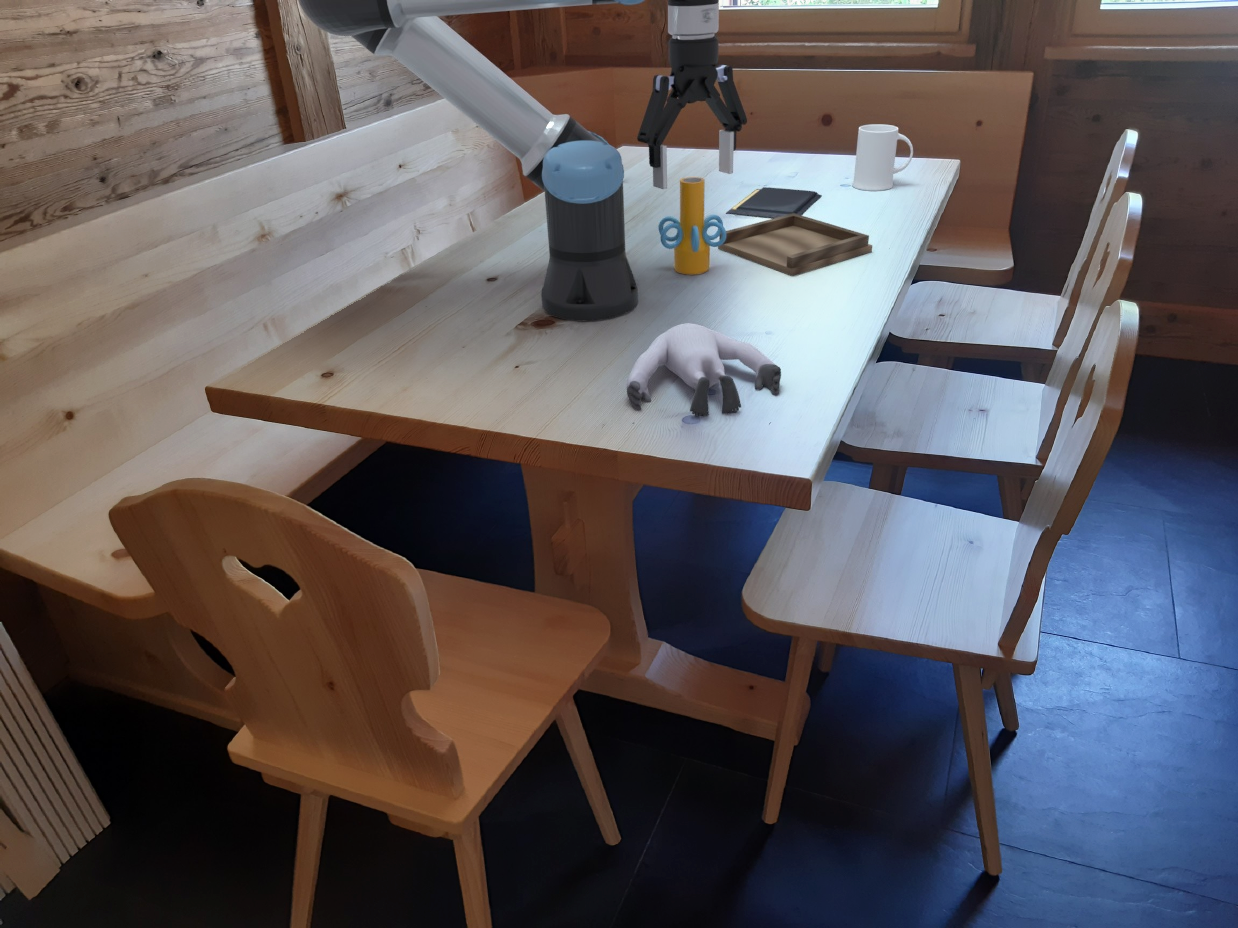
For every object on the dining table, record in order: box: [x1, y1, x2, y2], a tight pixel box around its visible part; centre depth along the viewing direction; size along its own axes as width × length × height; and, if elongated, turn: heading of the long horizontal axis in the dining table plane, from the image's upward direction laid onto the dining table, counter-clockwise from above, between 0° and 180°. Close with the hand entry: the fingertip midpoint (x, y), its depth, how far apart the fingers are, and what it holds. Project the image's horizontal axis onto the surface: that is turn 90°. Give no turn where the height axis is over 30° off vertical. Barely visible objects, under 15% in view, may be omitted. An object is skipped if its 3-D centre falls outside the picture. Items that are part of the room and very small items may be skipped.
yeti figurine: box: [626, 322, 782, 418], centre depth 117 cm, size 20×7×20 cm
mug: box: [851, 123, 914, 192], centre depth 193 cm, size 12×8×12 cm
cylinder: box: [658, 176, 727, 276], centre depth 151 cm, size 12×10×15 cm
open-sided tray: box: [717, 213, 873, 277], centre depth 161 cm, size 19×19×3 cm
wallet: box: [725, 186, 823, 220], centre depth 187 cm, size 20×2×15 cm
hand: (693, 180), depth 147 cm, fingers open, 13 cm apart
